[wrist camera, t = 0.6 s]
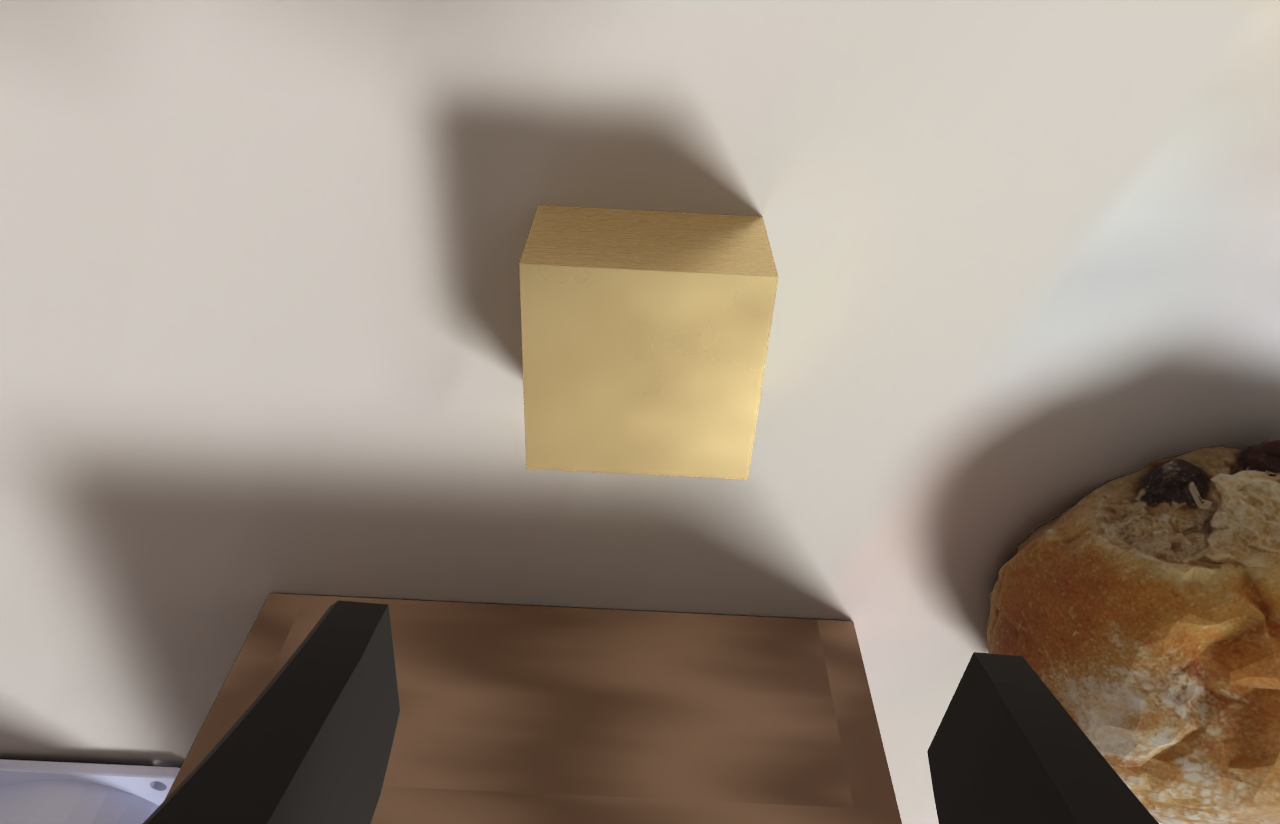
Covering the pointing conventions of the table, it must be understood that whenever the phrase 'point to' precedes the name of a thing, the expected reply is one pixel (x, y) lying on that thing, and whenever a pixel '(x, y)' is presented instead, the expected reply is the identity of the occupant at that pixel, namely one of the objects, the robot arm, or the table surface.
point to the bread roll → (1164, 629)
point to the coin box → (602, 715)
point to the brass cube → (644, 340)
